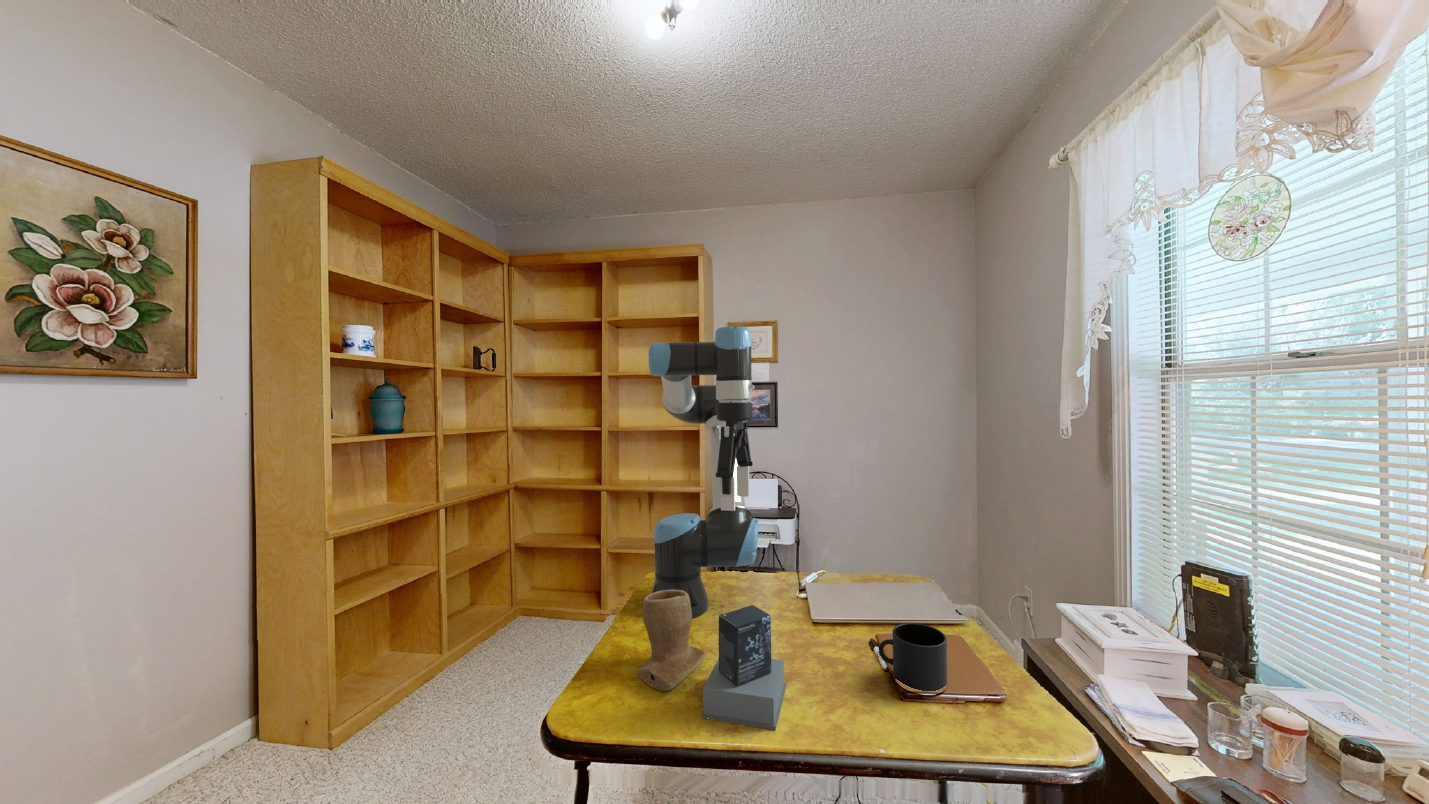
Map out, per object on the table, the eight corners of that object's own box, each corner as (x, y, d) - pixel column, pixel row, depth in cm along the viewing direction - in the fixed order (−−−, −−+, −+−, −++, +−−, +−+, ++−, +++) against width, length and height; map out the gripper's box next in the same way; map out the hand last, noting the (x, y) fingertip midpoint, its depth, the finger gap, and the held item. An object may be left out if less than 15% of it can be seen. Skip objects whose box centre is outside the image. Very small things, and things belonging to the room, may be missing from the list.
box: (736, 688, 85) (735, 626, 85) (718, 673, 90) (717, 614, 89) (772, 673, 89) (771, 614, 89) (753, 659, 94) (752, 603, 94)
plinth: (720, 677, 97) (720, 651, 97) (786, 686, 94) (785, 659, 94) (701, 717, 85) (700, 688, 85) (775, 730, 82) (775, 699, 82)
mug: (881, 661, 102) (881, 617, 102) (947, 674, 97) (946, 627, 97) (875, 686, 93) (875, 638, 93) (947, 702, 88) (946, 651, 88)
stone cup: (665, 646, 109) (664, 578, 109) (713, 660, 104) (711, 587, 103) (619, 682, 96) (618, 604, 96) (671, 700, 90) (670, 617, 90)
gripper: (738, 402, 92) (740, 518, 93) (762, 400, 116) (764, 491, 117) (699, 403, 94) (701, 516, 95) (731, 400, 118) (732, 490, 119)
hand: (736, 502), depth 106 cm, fingers open, 13 cm apart
